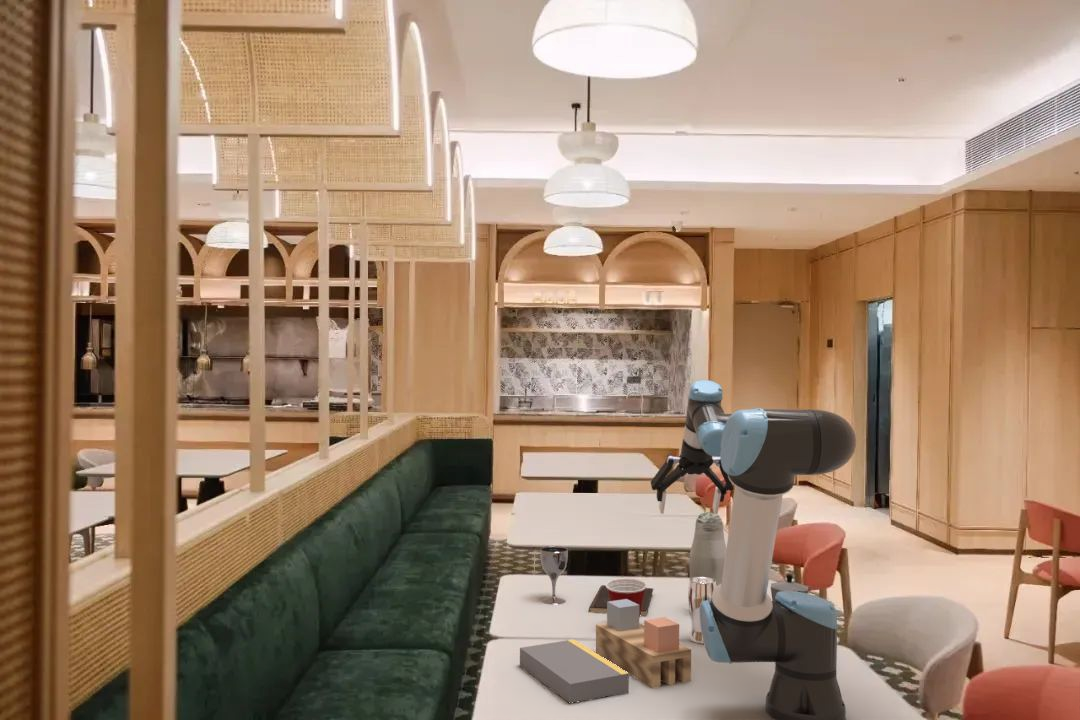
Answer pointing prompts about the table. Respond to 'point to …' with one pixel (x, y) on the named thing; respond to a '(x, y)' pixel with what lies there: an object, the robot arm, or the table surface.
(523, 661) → the block
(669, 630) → the salmon pink cube
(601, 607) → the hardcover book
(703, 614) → the robot arm
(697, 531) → the grey bottle
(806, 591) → the coffeepot
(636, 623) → the grey block
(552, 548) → the wine glass
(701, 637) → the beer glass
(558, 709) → the table surface
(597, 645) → the pallet
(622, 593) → the plastic cup
